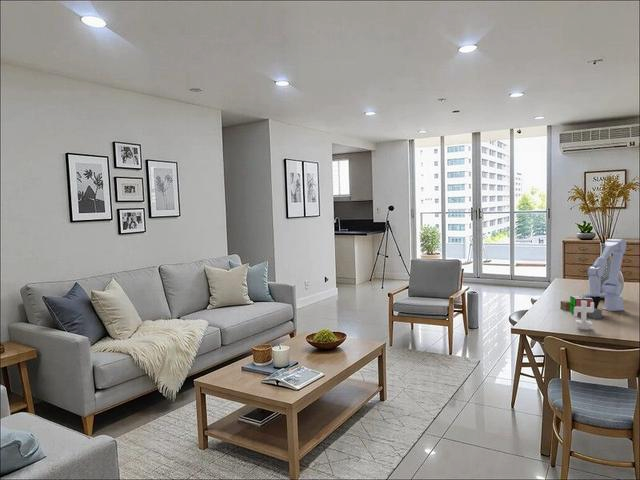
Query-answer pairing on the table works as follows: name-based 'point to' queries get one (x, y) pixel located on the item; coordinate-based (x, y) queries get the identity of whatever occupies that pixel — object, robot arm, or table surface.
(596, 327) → the table surface
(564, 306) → the walnut block
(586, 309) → the figurine
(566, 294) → the table surface
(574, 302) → the puzzle cube
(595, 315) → the charcoal block
